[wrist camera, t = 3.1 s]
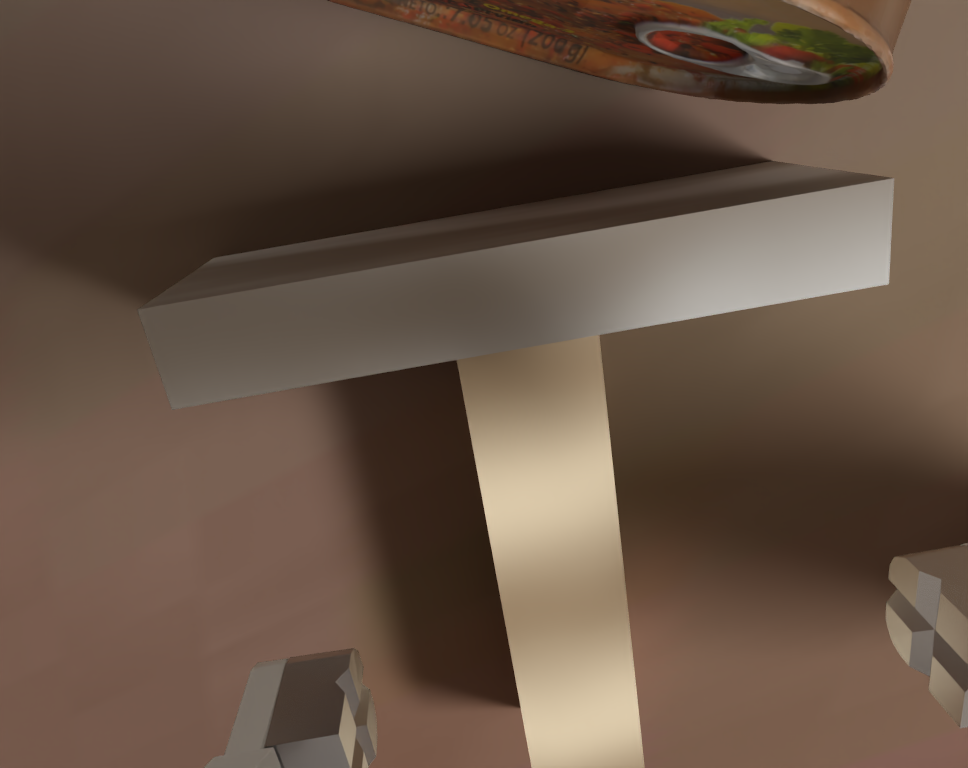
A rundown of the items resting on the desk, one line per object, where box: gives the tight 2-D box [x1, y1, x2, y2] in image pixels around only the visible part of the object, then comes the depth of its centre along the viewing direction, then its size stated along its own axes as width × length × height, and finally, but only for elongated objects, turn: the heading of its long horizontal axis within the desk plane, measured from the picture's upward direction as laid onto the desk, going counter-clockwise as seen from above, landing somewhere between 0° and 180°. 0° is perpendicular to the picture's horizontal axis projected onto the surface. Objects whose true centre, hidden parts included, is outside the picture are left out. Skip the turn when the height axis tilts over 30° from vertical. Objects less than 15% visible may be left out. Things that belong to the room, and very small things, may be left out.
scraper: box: [137, 161, 894, 768], centre depth 18 cm, size 16×14×5 cm
